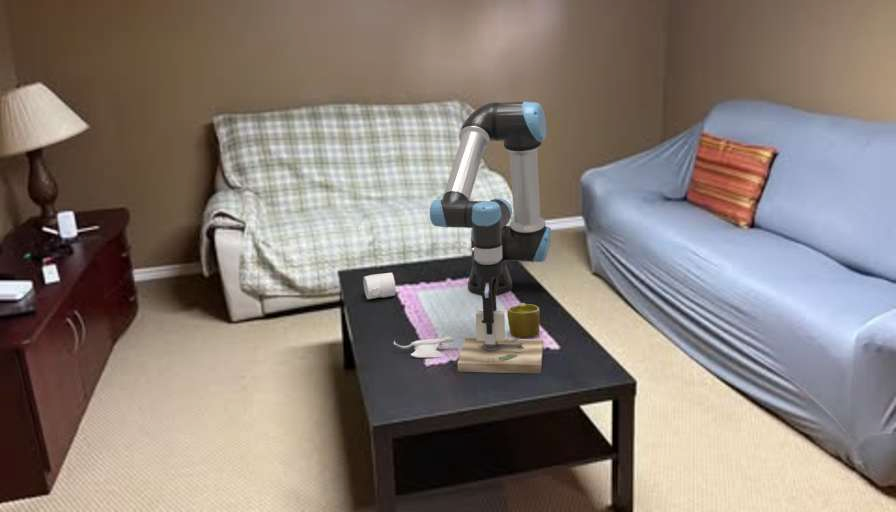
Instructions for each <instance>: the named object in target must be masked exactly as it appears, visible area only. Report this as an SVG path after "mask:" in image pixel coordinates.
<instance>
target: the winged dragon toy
mask: <svg viewBox="0 0 896 512" xmlns="http://www.w3.org/2000/svg"><path fill="white" fill-rule="evenodd" d="M454 341H455V338H453V336H445V337H444V338H425V339H420V340H419V339H417V340H415V341H413V342H412V341H410V344H409V345H400V344H398V343H396V341H395V339H394V341H393V342H391V344H393V345H394V346H396V347H398V348H400V349H403V350H407V349H410V348H412V347H413V349H414V352H412V353H410V356H412V357H414V358H421V359H423V358H425V359H426V358H436V359H437V358H439V357H438V356H440V357H442V356H441V355H443V356H446V353H445V354H443V353H442V352H440V351H439V350H437V348H438V347H440V346H441V345H442V344H443V343H444V344H443V345H446V343H453V342H454Z"/></svg>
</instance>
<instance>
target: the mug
mask: <svg viewBox="0 0 896 512" xmlns="http://www.w3.org/2000/svg"><path fill="white" fill-rule="evenodd" d="M540 312H541V311H540V307H539V306H537V305H535V304H529V303H527V304H526V303H525V302H521V303H519V304H517V305H512V306H510V307H509V308H507V312H506V313H507V314H506V315H507V323H508V328H509V332H510V334H511V336H512V337H513V338H514V339H516V338H518V339H528V338H529V339H530V338H534V337H538V336H539V334H540V329H541V328H540V316H541V314H540Z"/></svg>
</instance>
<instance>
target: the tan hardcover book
mask: <svg viewBox="0 0 896 512" xmlns="http://www.w3.org/2000/svg"><path fill="white" fill-rule="evenodd" d="M497 343H498V344H522V347H500V349H499V350H497V351H485V350H483V349H482V345H483V344H485V341H477V337H473V338H472V337H465V338H464V342H463V345H462V348H461V351H460V354H459V357H458V360H457V372H464V373H465V372H466V373H468V372H469V373H496V374H497V373H498V374H499V373H502V374H504V373H506V374H507V373H509V374H538V375H541V373H542V367H543V366H542V364H543V356H544V355H543V354H544V353H543V352H544V339H537V338H536V339H534V338H532V339H531V338H529V339H528V338H505V341H497Z"/></svg>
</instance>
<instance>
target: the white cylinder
mask: <svg viewBox="0 0 896 512" xmlns="http://www.w3.org/2000/svg"><path fill="white" fill-rule="evenodd" d="M363 289H364V294H365V296H366V299H367V300H372V299H377V298H388V297H395V296H396V281H395V277H394V274H393V272H386V273H377V274H370V275H365V276H363Z"/></svg>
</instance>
